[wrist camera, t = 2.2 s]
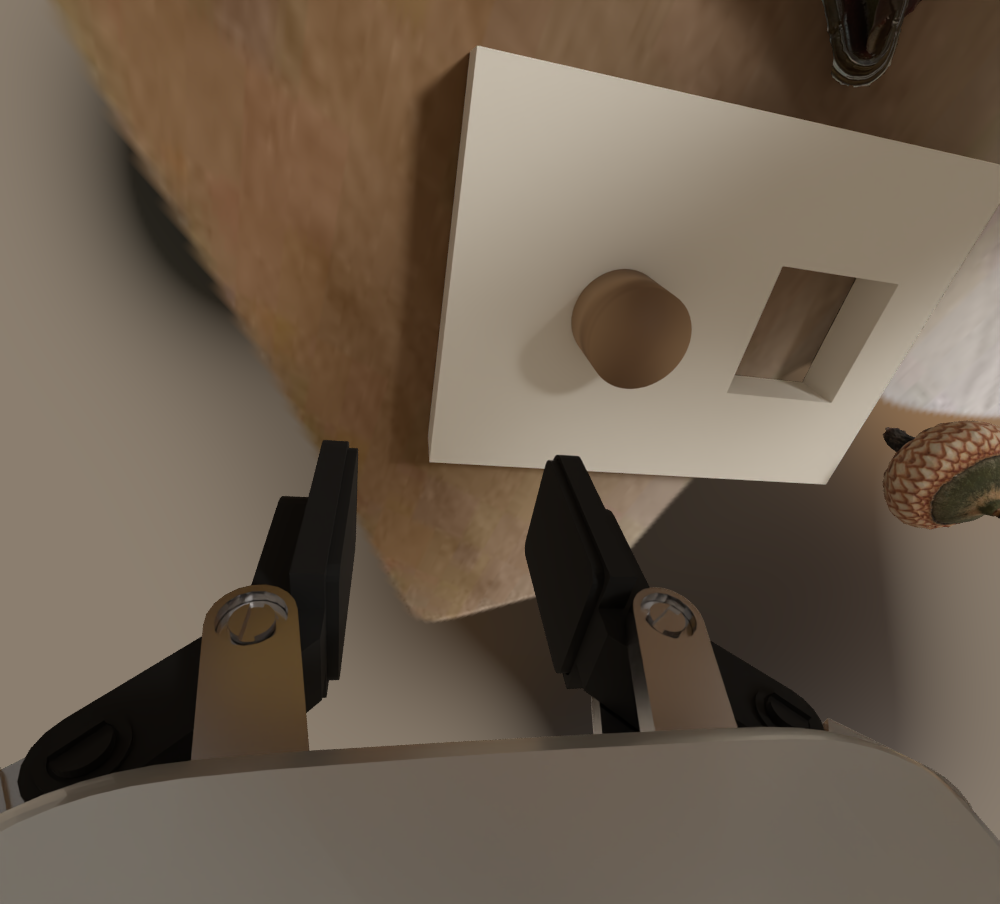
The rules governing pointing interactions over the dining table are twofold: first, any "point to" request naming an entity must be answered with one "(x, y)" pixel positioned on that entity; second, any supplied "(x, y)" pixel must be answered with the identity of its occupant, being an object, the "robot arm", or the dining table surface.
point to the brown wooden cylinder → (630, 328)
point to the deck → (678, 271)
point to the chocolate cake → (864, 37)
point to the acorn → (944, 474)
